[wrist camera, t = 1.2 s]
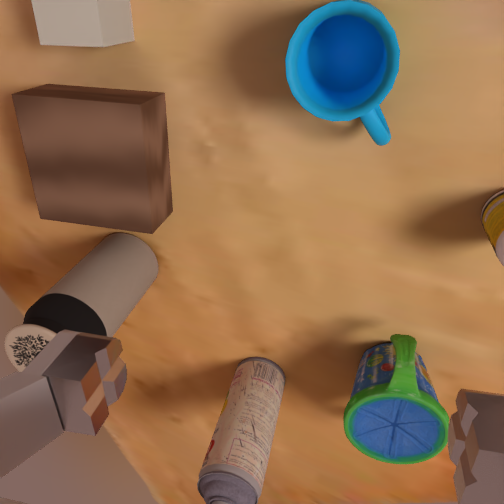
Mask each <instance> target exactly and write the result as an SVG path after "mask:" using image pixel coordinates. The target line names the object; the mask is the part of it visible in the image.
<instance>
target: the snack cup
mask: <svg viewBox="0 0 504 504" xmlns="http://www.w3.org/2000/svg"><path fill="white" fill-rule="evenodd" d="M390 340H391V342H392V343H386V344H380V345H377V346H374V347H373V348H371V349H367V350H366V351H365V352H364V355H363V357H362V359H361V361H360V364H359V367H358V371H357V374H356V378H355V382H354V386H353V390H352V394H351V398H350V401H349V402H348V404H347V406H346V408H345V411H344V430H345V434H346V436H347V438H348V439H349V441H350V442H351V443H352V444H353V445H354V446H355V447H356V448H357V449H358V450H359V451H361V452H362V453H363V454H365V455H367V456H369V457H371V458H374V459H376V460H379V461H382V462H387V463H393V464H414V463H419V462H423V461H426V460H428V459H430V458H432V457H434V456H436V455H437V454H438V453H439V452H441V451H442V450H443V449H444V447H445V446H446V444H447V442H448V427H449V423H448V422H449V417H448V414H447V412H446V411H445V409H444V408H443V407H442V406H441V405H440V403H439V402H438V399H437V396H436V394H435V391H434V388H433V385H432V382H431V380H430V377H429V375H428V373H427V369H426V367H425V365H424V363H423V361H422V358H421V356H420V355H418V354H417V353H416V352H415V349H416V344H417V342H416V340H415V338H413V337H411V336H409V335H400V334H395V335H392V336H391V338H390Z"/></svg>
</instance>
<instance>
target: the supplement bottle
mask: <svg viewBox="0 0 504 504" xmlns="http://www.w3.org/2000/svg"><path fill="white" fill-rule="evenodd" d="M481 222H482V225H483V228H484V230H485V232H486V234H487V236H488V238H489V241H490V242H491V245H492V247H493V249H494V251H495V253H496V255H497V257H498V259H499V261H500V262H501V264H502V265H503V266H504V190H502V191H500V192H498V193H496V194H495V195H493V196H492V197H491V198H490V199H489V200H488V201H487V202H486V204H485V205H484V207H483V209H482V213H481Z"/></svg>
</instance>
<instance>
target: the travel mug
mask: <svg viewBox="0 0 504 504" xmlns="http://www.w3.org/2000/svg"><path fill="white" fill-rule="evenodd" d="M157 274H158V262H157V259H156V256H155V254H154V253H153V251H152V250H151V248H150V247H149V246H148V245H147V244H146V243H145V242H143V241H142V240H141V239H139V238H137V237H135V236H133V235H130V234H126V233H115V234H111V235H109V236H107V237H106V238H105V239H104V240H102V241H101V242H100V243H99V244H98V245H97V246H96V247H95V248H94V249H93V250H92V251H91V252H90V253H88V254H87V255H86V256H85V257H84V258H83V259H82V260H81V261H80V262H79V263H78V264H77V265H76V266H74V267H73V268H72V269H71V270H70V271H69V272H68V273H67V274H66V275H65V276H64V277H63V278H61V279H60V280H59V281H58V282H57V283H56V284H55V285H54V286H53V287H52V288H51V289H50V290H49V291H47V292H46V293H45V294H44V295H43V296H42V297H41V298H40V299H39V300H38V301H37V302H36V303H35V304H33V305H32V306H31V307H30V308H29V309H28V311H27V312H26V314H25V318H24V322H23V324H21V325H18V326H15V327H13V328H12V329H11V330H9V332H8V333H7V335H6V337H5V343H4V344H5V350H6V353H7V356H8V358H9V359H10V361H11V362H12V364H13V365H14V366H15V367H16V368H17V370H19V371H20V372H22V371H23V370H24V369H25V368H26V367H27V366H28V365H29V364H30V363H31V362H32V360H33V359H34V358H35V357H36V356H37V355H38V354H39V353H40V352H41V351H42V350H43V349H44V348H45V346H46V345H47V344H48V343H49V342H50V341H51V340H52V339H53V338H54V337H55V336H56V335H57V334H58V333H59V332H60V331H63V330H70V331H76V332H84V333H90V334H95V335H101V336H107V337H113V335H114V334H115V333H116V331H117V330H118V328H119V327H120V326H121V324H122V323H123V322H124V320H125V319H126V318H127V316H128V315H129V314H130V312H131V311H132V310H133V308H134V307H135V306H136V304H137V303H138V302H139V300H140V299H141V298H142V296H143V295H144V294H145V292H146V291H147V290H148V288H149V287H150V286H151V284H152V283H153V282H154V280H155V279H156V277H157Z"/></svg>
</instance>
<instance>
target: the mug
mask: <svg viewBox="0 0 504 504" xmlns="http://www.w3.org/2000/svg"><path fill="white" fill-rule="evenodd" d="M399 56H400V49H399V45H398V42H397V38H396V34H395V31H394V30H393V28H392V27H391V25H390V24H389V22H388V21H387V19H386V18H385V16H384V15H383V13H382V12H381V11H380V10H378V9H377V8H376V7H374V6H373V5H371V4H370V3H368V2H364V1H360V0H338V1H334V2H331V3H329V4H326V5H324V6H322V7H320V8H318V9H316V10H314V11H313V12H312V13H311V14H309V15H308V16H307V17H306V18H305V19H304V20H303V21H302V22H301V23H300V24H299V26H298V27H297V29H296V31H295V33H294V34H293V36H292V38H291V40H290V42H289V46H288V50H287V54H286V59H285V63H286V78H287V81H288V84H289V86H290V89H291V92H292V94H293V96H294V97H295V98H296V100H297V101H298V102H299V103H300V105H301V106H302V107H303V108H304V109H306V110H307V111H308V112H310V113H311V114H313V115H314V116H316V117H319V118H322V119H326V120H329V121H350V120H353V119H355V118H358V117H360V119H361V121H362V123H363V124H364V126H365V128H366V129H367V131H368V133H369V134H370V136H371V137H372V139H373V140H374V142H375V143H376V144H377V145H380V146H382V145H385V144H387V143H388V142H389V141H390V139H391V134H390V131H389V128H388V125H387V123H386V120H385V118H384V115H383V113H382V111H381V108H380V106H379V104H381V102H382V101H383V100H384V98H385V97H386V96H387V94H388V93H389V92H390V90H391V89H392V87H393V84H394V81H395V79H396V76H397V73H398V71H399Z"/></svg>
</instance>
